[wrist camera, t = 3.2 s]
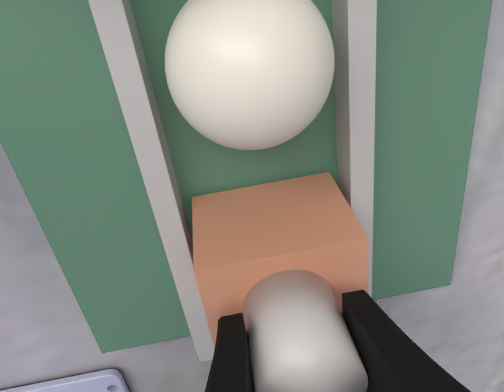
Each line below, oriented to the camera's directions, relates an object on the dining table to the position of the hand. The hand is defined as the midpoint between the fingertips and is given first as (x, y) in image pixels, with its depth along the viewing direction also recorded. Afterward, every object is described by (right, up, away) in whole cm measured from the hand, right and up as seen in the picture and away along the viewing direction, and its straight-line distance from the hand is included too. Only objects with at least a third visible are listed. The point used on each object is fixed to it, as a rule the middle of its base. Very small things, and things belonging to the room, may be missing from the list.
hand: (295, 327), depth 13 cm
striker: (-1, +3, +4) cm, 5 cm away
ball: (-1, +7, -1) cm, 7 cm away
